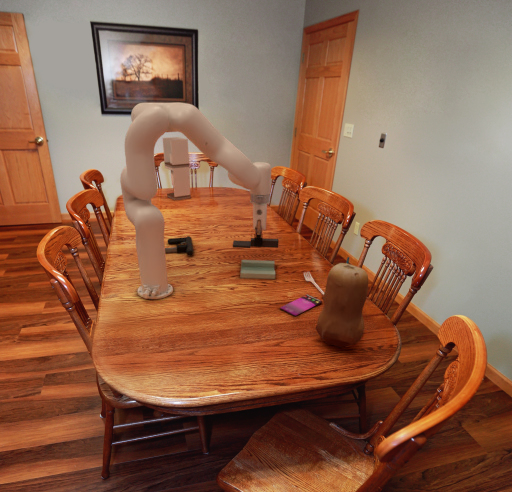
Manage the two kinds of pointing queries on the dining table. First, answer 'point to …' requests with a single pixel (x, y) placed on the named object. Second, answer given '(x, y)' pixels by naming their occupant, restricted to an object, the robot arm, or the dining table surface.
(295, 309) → the smartphone
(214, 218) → the dining table surface
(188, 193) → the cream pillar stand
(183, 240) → the submachine gun
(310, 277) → the fork
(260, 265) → the spoon rest
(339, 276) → the butternut squash
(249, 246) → the spatula
